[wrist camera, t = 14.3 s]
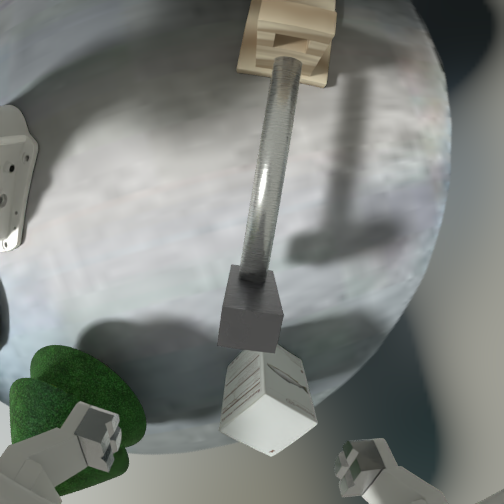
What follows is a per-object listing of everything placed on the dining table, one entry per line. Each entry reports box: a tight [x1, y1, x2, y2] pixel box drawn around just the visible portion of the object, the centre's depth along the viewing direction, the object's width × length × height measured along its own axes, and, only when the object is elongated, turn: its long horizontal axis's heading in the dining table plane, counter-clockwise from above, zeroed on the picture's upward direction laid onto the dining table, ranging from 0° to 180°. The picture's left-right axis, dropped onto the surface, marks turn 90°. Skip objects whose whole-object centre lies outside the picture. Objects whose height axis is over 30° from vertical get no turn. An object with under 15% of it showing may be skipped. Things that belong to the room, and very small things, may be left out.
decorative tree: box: [9, 345, 146, 496], centre depth 25 cm, size 19×19×30 cm
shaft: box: [217, 56, 302, 354], centre depth 23 cm, size 22×4×10 cm, turn 171°
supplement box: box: [219, 344, 318, 457], centre depth 32 cm, size 7×7×13 cm
